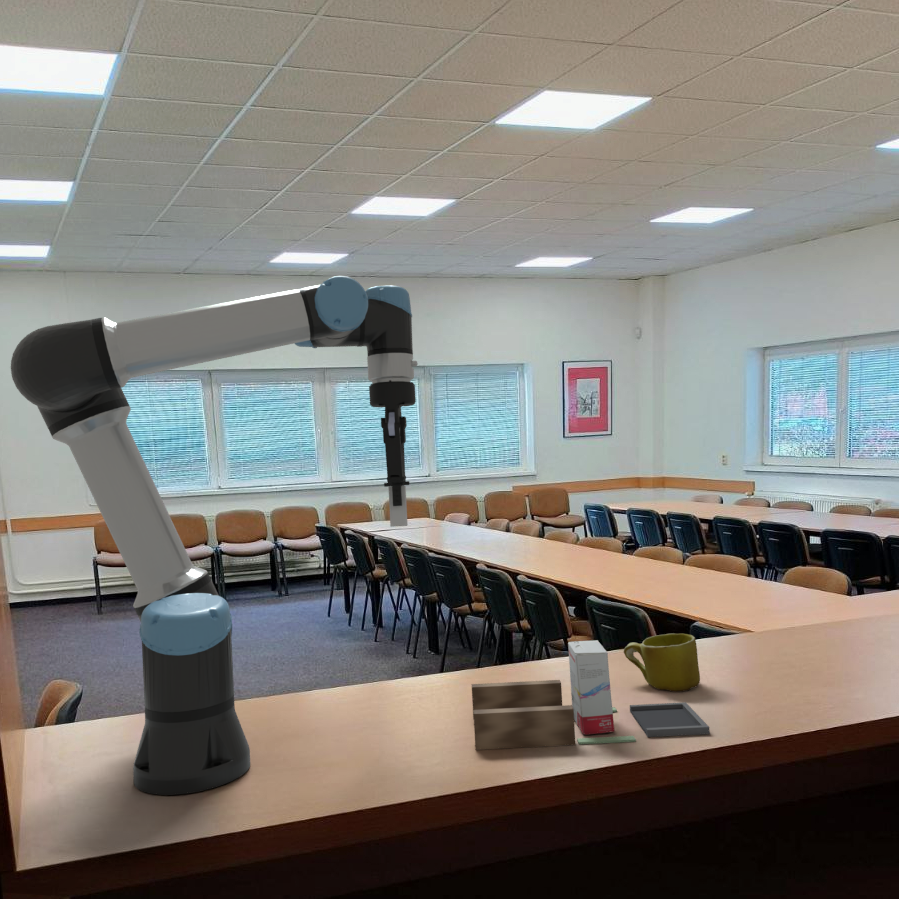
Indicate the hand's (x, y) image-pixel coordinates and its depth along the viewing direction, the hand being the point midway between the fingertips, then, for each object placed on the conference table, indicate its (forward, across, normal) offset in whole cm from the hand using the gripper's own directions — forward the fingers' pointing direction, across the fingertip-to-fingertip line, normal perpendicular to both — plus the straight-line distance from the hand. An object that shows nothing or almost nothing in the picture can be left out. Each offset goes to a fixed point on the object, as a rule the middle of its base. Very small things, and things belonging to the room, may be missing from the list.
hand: (399, 525), depth 131 cm
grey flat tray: (+30, -11, -39) cm, 51 cm away
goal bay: (+30, -11, -29) cm, 43 cm away
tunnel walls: (+30, -11, -18) cm, 37 cm away
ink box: (+31, -11, -28) cm, 43 cm away
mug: (+31, +8, -44) cm, 54 cm away
